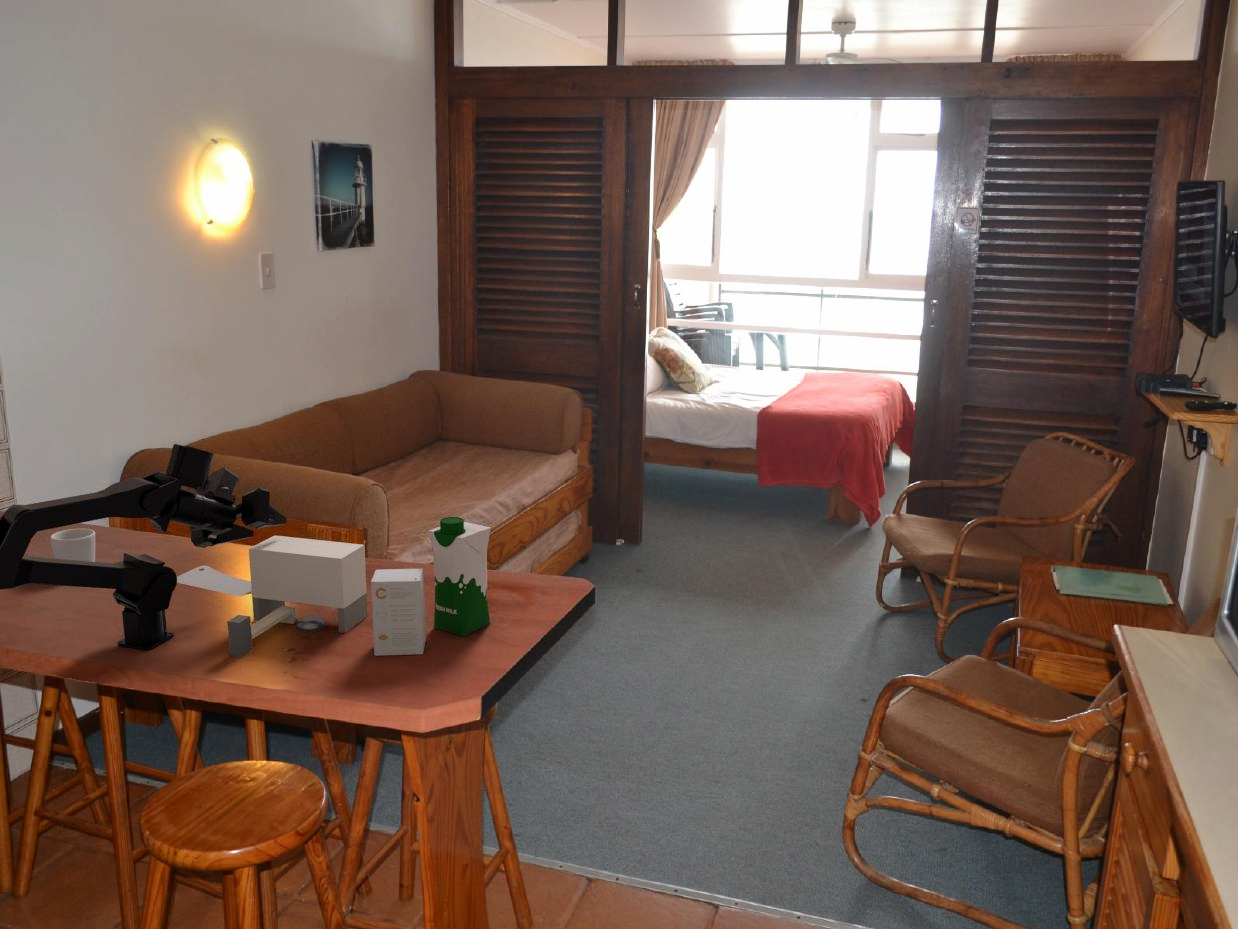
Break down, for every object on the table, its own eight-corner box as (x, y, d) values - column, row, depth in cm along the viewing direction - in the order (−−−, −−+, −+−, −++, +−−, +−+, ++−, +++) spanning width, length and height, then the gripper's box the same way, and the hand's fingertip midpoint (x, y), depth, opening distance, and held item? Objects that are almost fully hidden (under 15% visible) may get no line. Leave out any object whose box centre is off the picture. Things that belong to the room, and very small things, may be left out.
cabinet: (345, 633, 183) (341, 558, 180) (253, 621, 188) (248, 548, 185) (367, 616, 191) (364, 544, 188) (279, 605, 195) (274, 535, 192)
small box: (426, 640, 181) (424, 567, 178) (423, 655, 175) (421, 580, 172) (378, 641, 180) (375, 568, 177) (373, 656, 174) (370, 581, 171)
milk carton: (426, 628, 186) (423, 519, 181) (460, 612, 193) (458, 507, 189) (464, 639, 181) (462, 527, 177) (498, 623, 189) (496, 515, 184)
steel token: (315, 635, 183) (314, 627, 183) (292, 632, 184) (291, 624, 184) (328, 625, 187) (328, 617, 187) (306, 622, 188) (305, 614, 188)
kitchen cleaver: (160, 581, 206) (200, 561, 214) (161, 589, 206) (202, 568, 215) (280, 611, 192) (318, 588, 200) (281, 619, 192) (319, 596, 201)
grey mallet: (242, 657, 173) (239, 623, 172) (229, 655, 174) (226, 621, 172) (295, 622, 188) (293, 590, 186) (283, 620, 188) (281, 588, 187)
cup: (56, 564, 216) (51, 526, 214) (99, 559, 219) (95, 522, 217) (53, 581, 206) (48, 542, 204) (98, 576, 209) (94, 537, 208)
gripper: (229, 450, 180) (303, 472, 192) (164, 480, 189) (238, 499, 202) (227, 512, 176) (303, 530, 188) (160, 540, 185) (236, 556, 198)
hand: (269, 527), depth 194 cm, fingers open, 9 cm apart
